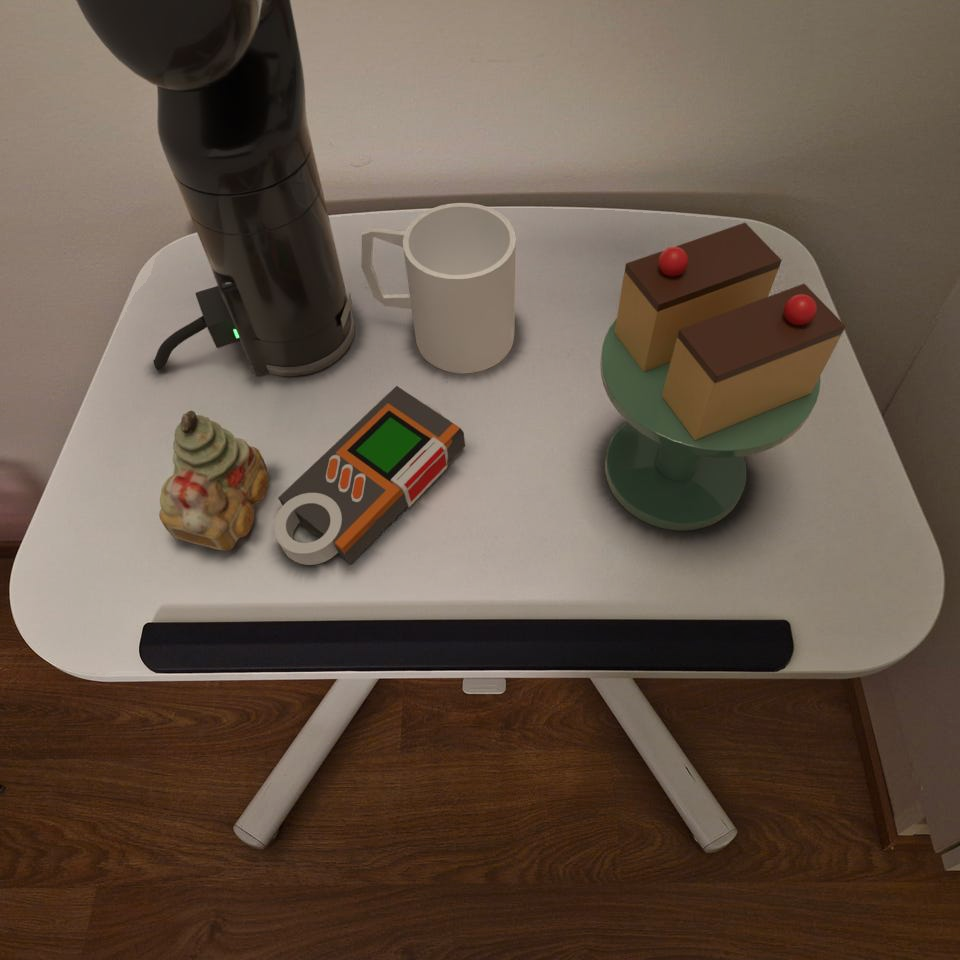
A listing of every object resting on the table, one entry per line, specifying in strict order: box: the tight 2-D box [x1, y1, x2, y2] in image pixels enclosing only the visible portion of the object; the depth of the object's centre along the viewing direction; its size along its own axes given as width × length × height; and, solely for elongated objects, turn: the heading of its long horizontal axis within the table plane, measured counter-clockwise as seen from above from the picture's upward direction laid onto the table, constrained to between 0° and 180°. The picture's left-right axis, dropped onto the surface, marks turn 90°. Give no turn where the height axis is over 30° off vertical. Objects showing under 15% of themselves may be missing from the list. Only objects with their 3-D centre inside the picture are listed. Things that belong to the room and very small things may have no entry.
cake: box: [614, 222, 846, 440], centre depth 44 cm, size 8×9×7 cm
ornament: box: [158, 410, 270, 552], centre depth 52 cm, size 8×6×10 cm
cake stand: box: [599, 317, 822, 531], centre depth 52 cm, size 13×13×12 cm
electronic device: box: [273, 385, 466, 566], centre depth 56 cm, size 7×3×15 cm
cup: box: [360, 202, 517, 374], centre depth 61 cm, size 8×12×10 cm
